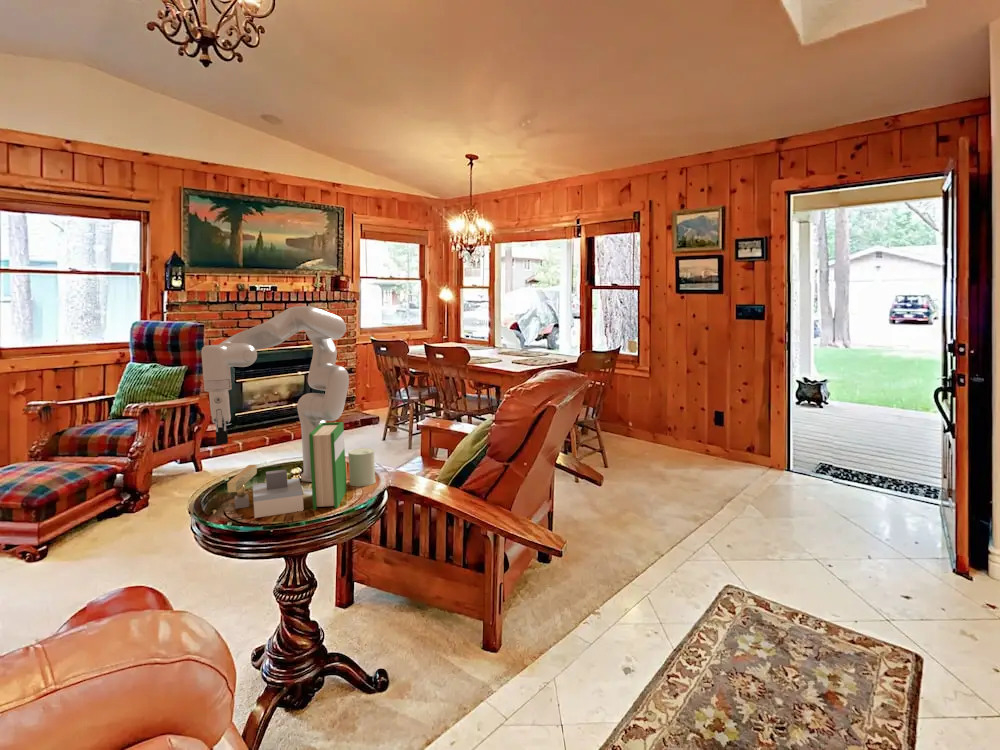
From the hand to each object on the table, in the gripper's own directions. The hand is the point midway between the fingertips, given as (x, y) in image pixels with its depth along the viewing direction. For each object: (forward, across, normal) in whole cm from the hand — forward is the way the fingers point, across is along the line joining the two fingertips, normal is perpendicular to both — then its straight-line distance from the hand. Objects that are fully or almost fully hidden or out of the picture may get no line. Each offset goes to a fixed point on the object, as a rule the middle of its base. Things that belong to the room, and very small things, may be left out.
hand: (222, 443), depth 175 cm
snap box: (+21, -5, -12) cm, 25 cm away
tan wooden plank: (+18, +3, -5) cm, 19 cm away
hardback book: (+21, -6, -31) cm, 38 cm away
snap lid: (+16, -6, -15) cm, 23 cm away
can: (+21, +8, -44) cm, 49 cm away
